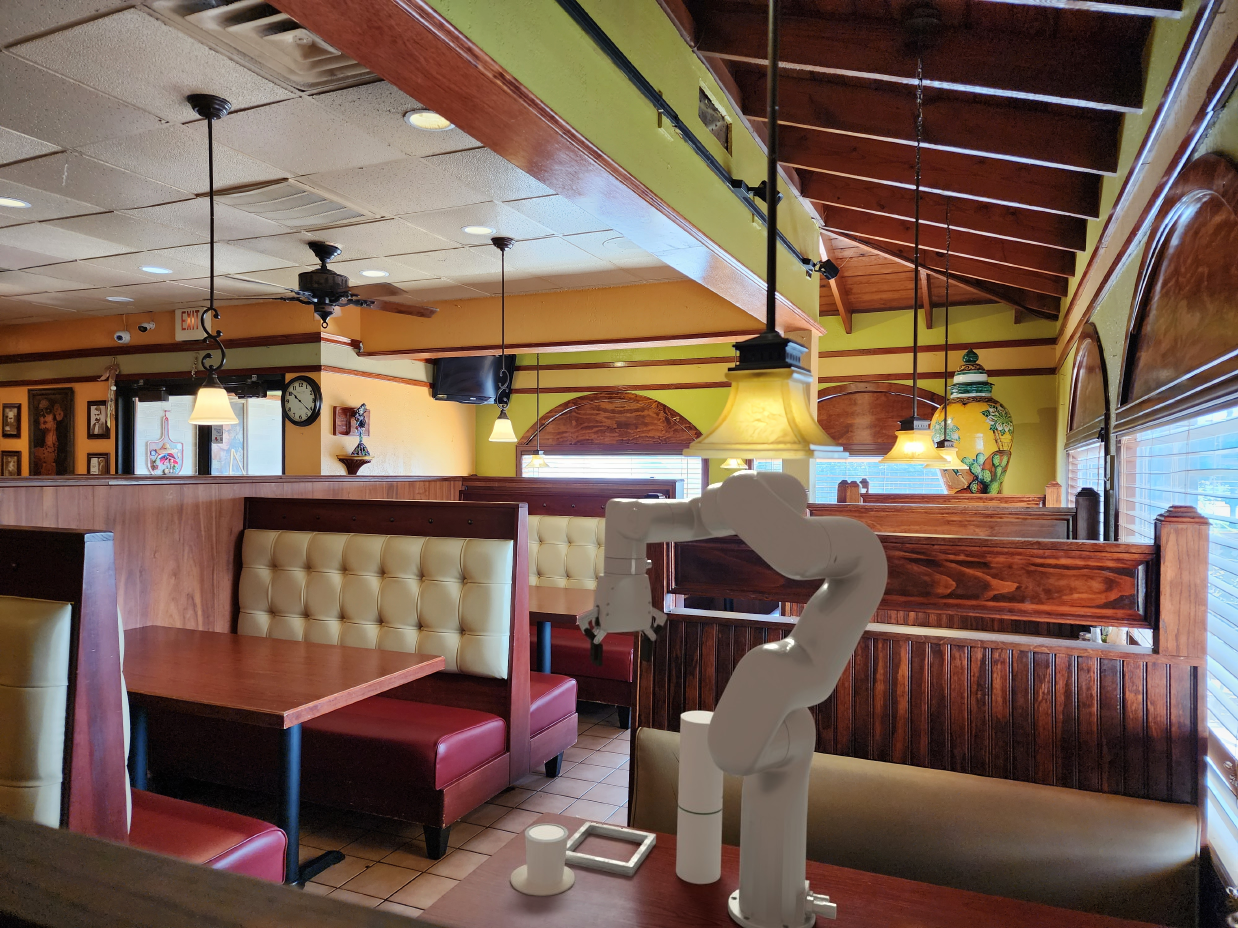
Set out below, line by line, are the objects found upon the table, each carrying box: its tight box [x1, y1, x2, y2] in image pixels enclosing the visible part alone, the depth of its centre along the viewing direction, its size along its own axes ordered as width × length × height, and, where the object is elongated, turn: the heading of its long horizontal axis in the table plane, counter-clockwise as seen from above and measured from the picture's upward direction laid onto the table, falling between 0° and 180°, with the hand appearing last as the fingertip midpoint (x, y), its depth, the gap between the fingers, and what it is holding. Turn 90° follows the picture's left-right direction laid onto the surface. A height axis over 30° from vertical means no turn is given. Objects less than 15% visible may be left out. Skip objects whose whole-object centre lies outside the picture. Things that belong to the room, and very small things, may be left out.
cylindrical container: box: [675, 710, 724, 885], centre depth 130 cm, size 7×7×25 cm
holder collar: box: [565, 821, 657, 877], centre depth 136 cm, size 13×13×2 cm
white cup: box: [524, 822, 569, 886], centre depth 126 cm, size 7×7×7 cm
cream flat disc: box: [510, 863, 576, 897], centre depth 126 cm, size 10×10×1 cm
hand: (621, 663), depth 144 cm, fingers open, 9 cm apart
